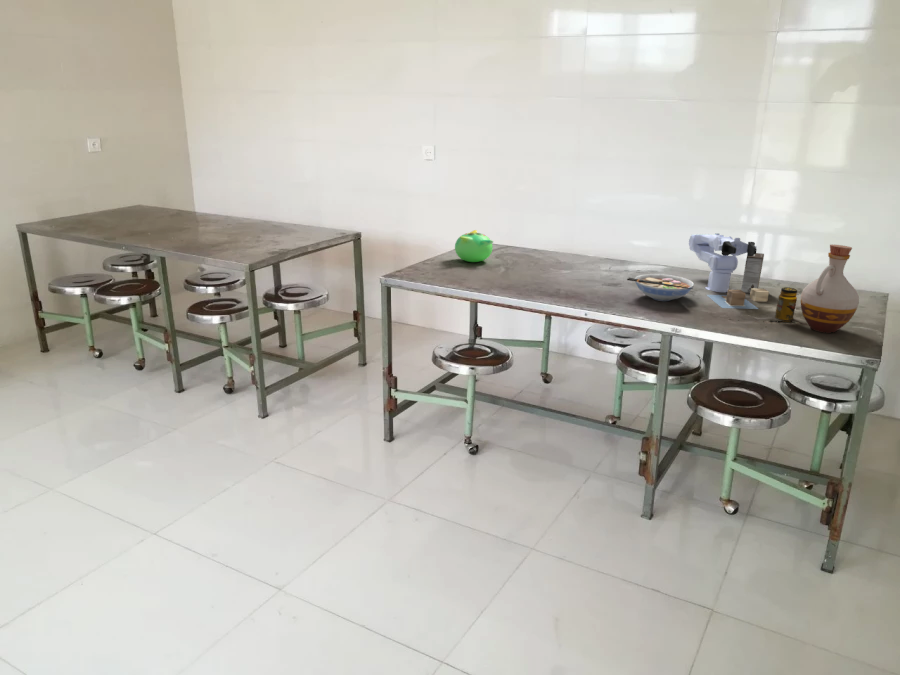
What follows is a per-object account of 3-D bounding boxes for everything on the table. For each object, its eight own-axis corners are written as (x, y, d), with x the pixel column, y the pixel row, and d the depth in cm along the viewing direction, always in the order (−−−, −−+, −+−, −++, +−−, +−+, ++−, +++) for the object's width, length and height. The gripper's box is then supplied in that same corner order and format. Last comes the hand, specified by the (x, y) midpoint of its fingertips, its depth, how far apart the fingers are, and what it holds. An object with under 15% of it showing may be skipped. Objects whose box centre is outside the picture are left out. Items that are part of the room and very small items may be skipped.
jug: (833, 342, 226) (853, 254, 216) (782, 327, 240) (799, 244, 229) (861, 331, 237) (881, 247, 227) (810, 318, 251) (827, 238, 240)
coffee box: (741, 288, 288) (747, 251, 282) (757, 290, 285) (764, 253, 280) (740, 294, 280) (746, 256, 274) (756, 296, 277) (763, 257, 272)
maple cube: (749, 300, 272) (751, 288, 270) (761, 300, 272) (763, 288, 270) (754, 303, 267) (756, 291, 266) (766, 304, 267) (768, 291, 265)
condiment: (796, 324, 244) (802, 292, 240) (771, 322, 245) (777, 290, 241) (789, 317, 251) (795, 286, 247) (765, 316, 252) (771, 285, 248)
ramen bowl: (699, 297, 274) (702, 277, 272) (687, 311, 256) (690, 290, 253) (638, 287, 286) (641, 268, 283) (622, 300, 268) (624, 280, 265)
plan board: (705, 297, 274) (706, 294, 274) (740, 298, 274) (740, 295, 274) (721, 310, 257) (722, 307, 257) (758, 311, 257) (759, 308, 257)
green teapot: (489, 257, 333) (491, 228, 328) (494, 266, 317) (495, 235, 312) (453, 257, 332) (454, 227, 327) (455, 265, 316) (456, 234, 311)
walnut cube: (725, 301, 265) (727, 289, 263) (738, 302, 265) (740, 289, 263) (730, 305, 260) (732, 293, 259) (743, 305, 260) (745, 293, 259)
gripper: (714, 236, 269) (727, 240, 256) (751, 236, 269) (765, 240, 255) (712, 253, 271) (725, 258, 257) (748, 254, 270) (763, 259, 257)
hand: (745, 251), depth 257 cm, fingers open, 7 cm apart
